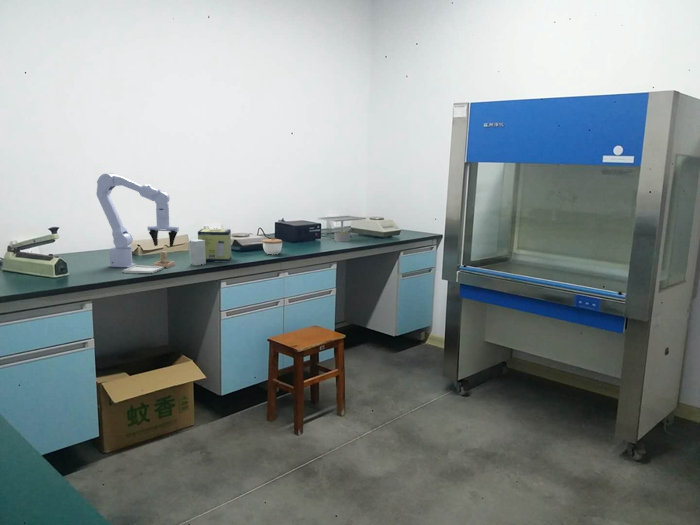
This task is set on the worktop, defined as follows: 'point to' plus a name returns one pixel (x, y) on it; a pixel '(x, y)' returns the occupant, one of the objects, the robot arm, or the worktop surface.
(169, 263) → the pin cup
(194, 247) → the skincare box
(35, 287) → the worktop surface
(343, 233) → the solar panel model
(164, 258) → the dowel pin
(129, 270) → the tray
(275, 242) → the lidded jar
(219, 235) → the protein box
